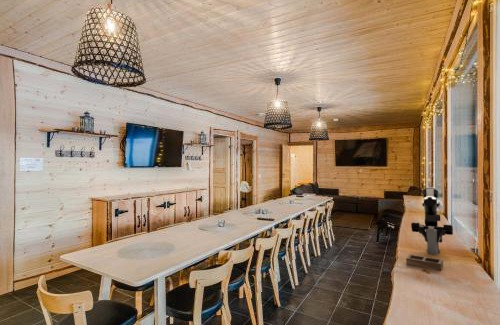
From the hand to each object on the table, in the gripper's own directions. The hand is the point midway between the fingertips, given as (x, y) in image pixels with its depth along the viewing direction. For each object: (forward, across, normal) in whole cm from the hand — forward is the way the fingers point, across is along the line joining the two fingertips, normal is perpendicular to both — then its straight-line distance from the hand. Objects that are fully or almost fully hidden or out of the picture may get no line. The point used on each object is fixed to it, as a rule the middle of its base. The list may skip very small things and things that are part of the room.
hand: (431, 242), depth 143 cm
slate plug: (+4, 0, +6) cm, 7 cm away
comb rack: (+8, -4, +11) cm, 14 cm away
